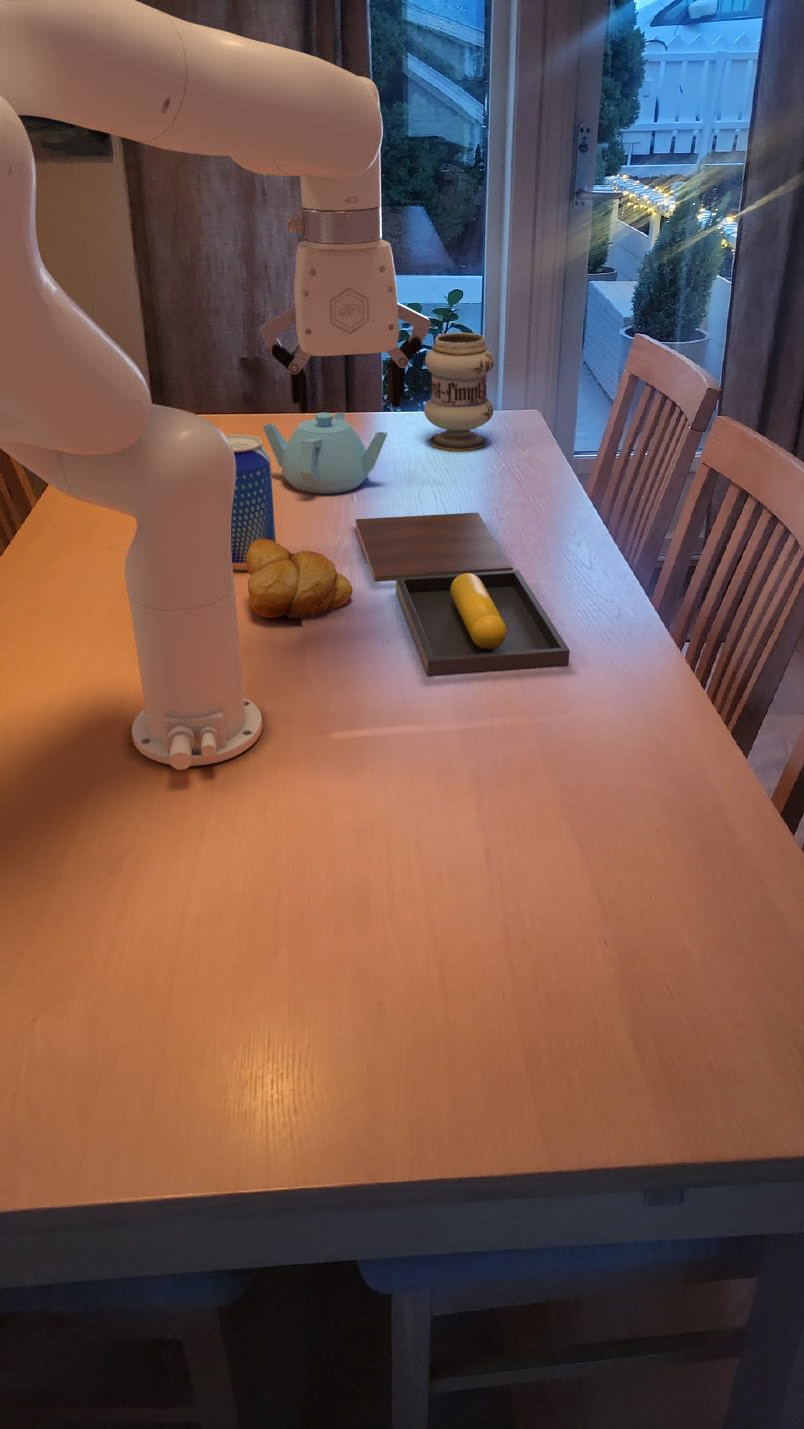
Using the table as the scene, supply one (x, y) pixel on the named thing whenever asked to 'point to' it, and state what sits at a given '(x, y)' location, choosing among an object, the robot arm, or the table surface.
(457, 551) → the board
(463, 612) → the yellow capsule pill
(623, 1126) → the table surface
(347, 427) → the teapot
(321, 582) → the bread roll
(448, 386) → the apothecary jar
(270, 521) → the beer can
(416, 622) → the tray
